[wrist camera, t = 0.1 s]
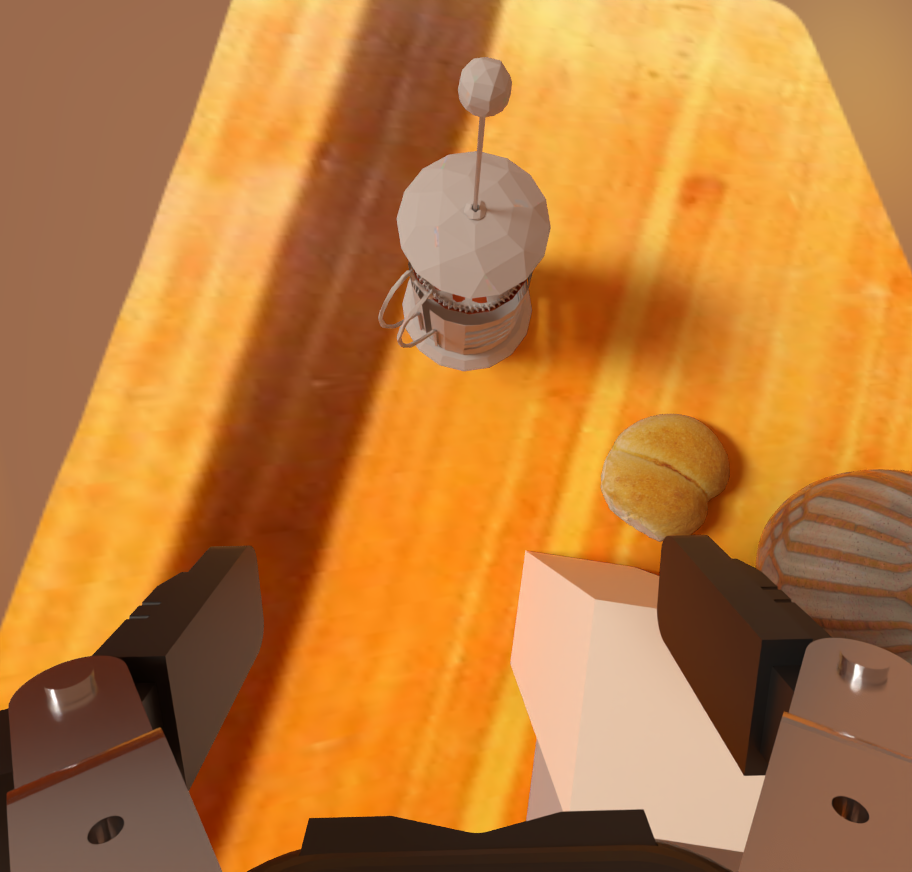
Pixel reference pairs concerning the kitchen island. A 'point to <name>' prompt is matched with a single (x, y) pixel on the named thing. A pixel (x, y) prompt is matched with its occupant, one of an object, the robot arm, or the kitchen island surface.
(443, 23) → the kitchen island surface
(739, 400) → the kitchen island surface
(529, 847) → the robot arm
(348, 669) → the kitchen island surface
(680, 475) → the bread roll
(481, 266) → the french press
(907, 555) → the vase
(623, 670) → the post
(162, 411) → the kitchen island surface
